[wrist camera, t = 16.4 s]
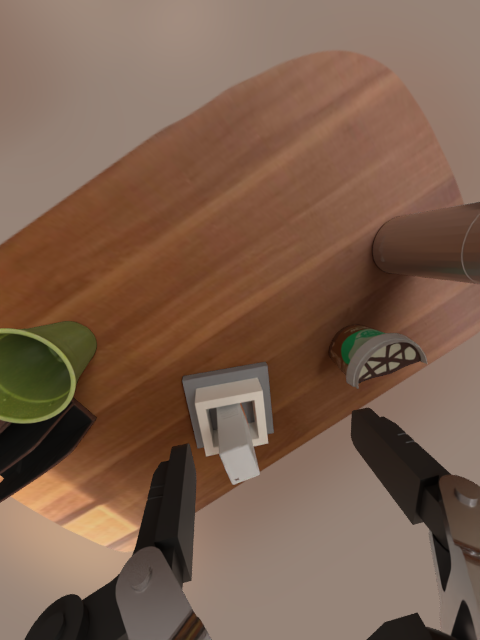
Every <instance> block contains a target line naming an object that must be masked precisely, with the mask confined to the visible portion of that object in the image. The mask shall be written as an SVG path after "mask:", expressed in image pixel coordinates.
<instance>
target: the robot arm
mask: <svg viewBox="0 0 480 640" xmlns="http://www.w3.org/2000/svg"><path fill="white" fill-rule="evenodd" d="M373 257H374V261H375V263H376V265H377V266H378V267H379V268H380V269H381V270H383V271H384V272H387V273H393V274H401V275H409V276H417V277H425V278H433V279H442V280H450V281H458V282H466V283H474V284H480V202H476V203H470V204H465V205H459V206H454V207H448V208H443V209H437V210H432V211H426V212H420V213H415V214H409V215H404V216H398V217H395V218H393V219H391V220H389V221H388V222H386V223H385V224H384V225H383V226H382V227H381V229H380V230H379V231H378V233H377V235H376V237H375V240H374V243H373ZM351 421H352V422H351V438H352V441H353V444H354V446H355V448H356V449H357V451H358V452H359V453H360V455H361V456H362V457H363V459H364V460H365V461H366V463H367V464H368V465H369V467H370V468H371V469H372V471H373V472H374V473H375V475H376V476H377V477H378V479H379V480H380V481H381V483H382V484H383V485H384V487H385V488H386V489H387V491H388V492H389V493H390V495H391V496H392V498H393V499H394V500H395V502H396V503H397V504H398V506H399V507H400V508H401V510H402V511H403V512H404V514H405V515H406V516H407V518H408V519H409V520H410V522H411V523H412V524H413V525H414V524H418V523H421V522H424V523H425V524H426V525H427V527H428V528H429V539H430V544H431V550H432V556H433V562H434V568H435V574H436V580H437V585H438V591H439V599H440V626H441V631H439V630H436V629H433V628H429V627H425V625H424V623H423V622H422V620H421V618H420V616H419V614H418V613H414V614H411V615H408V616H404V617H401V618H398V619H394V620H391V621H387V622H385V623H384V624H383V625H382V626H380V627H379V628H378V629H377V630H376V631H375V632H374V633H373V634H372V635H371V636H370V637H369V638H368V639H367V640H480V486H478V485H477V484H475V483H474V482H472V481H470V480H468V479H466V478H464V477H460V476H457V475H451V474H450V473H449V472H448V471H447V470H446V469H444V467H442V466H441V465H440V464H439V463H438V462H437V461H436V460H435V459H434V458H433V457H431V455H429V454H428V453H427V452H426V451H425V450H424V449H422V447H421V446H419V444H417V443H416V442H414V440H413V439H412V438H411V437H410V436H409V435H407V434H406V433H405V432H404V431H403V430H402V429H401V428H400V427H399V426H398V425H397V424H396V423H394V422H392V421H390V420H388V419H387V418H385V417H379V416H378V415H377V414H376V413H375V412H374V411H373V410H372V409H370V408H364V409H358V410H354V411H352V420H351ZM195 499H196V470H195V465H194V461H193V456H192V452H191V448H190V445H189V443H188V444H183V445H178V446H173V447H172V449H171V454H170V459H169V461H165V462H161V463H160V464H159V466H158V468H157V469H156V471H155V472H154V474H153V478H152V482H151V486H150V490H149V494H148V501H147V502H146V506H145V510H144V515H143V519H142V523H141V527H140V531H139V535H138V539H137V543H136V547H135V550H134V552H133V555H132V557H131V558H130V559H129V560H128V561H127V563H126V564H125V565H124V567H123V569H122V571H121V573H120V574H119V575H118V576H117V577H116V578H114V579H113V580H112V581H111V582H110V583H108V584H106V585H105V586H103V587H102V588H100V589H99V590H97V591H96V592H94V593H92V594H91V595H89V596H88V597H86V598H85V599H83V600H81V598H80V597H79V596H78V595H75V594H70V595H66V596H64V597H61V598H60V599H58V600H56V601H55V602H54V603H52V604H51V605H50V606H49V607H48V608H47V609H46V610H45V611H44V612H43V613H42V614H41V615H40V616H39V618H38V619H37V621H35V623H34V624H33V626H32V627H31V629H30V631H29V632H28V634H27V636H26V638H25V640H212V639H211V637H210V636H209V634H208V632H207V630H206V629H205V627H204V625H203V623H202V622H201V620H200V619H199V618H198V617H197V616H196V614H195V613H194V611H193V609H192V608H191V606H190V604H189V602H188V600H187V598H186V596H185V594H184V593H183V591H182V586H183V583H184V582H188V581H191V577H192V557H193V538H194V519H195Z"/></svg>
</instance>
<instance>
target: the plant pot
mask: <svg viewBox="0 0 480 640" xmlns="http://www.w3.org/2000/svg"><path fill="white" fill-rule="evenodd" d="M96 348H97V343H96V339H95V336H94V335H93V333H92V332H91V331H90V330H89V329H88V328H87V327H85V326H83V325H81V324H79V323H77V322H72V321H64V322H59V323H54V324H49V325H44V326H39V327H34V328H29V329H11V328H2V329H0V420H3V421H7V422H13V423H35V422H40V421H44V420H47V419H49V418H52V417H54V416H56V415H57V414H59V413H60V412H61V411H63V410H64V409H65V408H66V407H67V406H68V404H69V403H70V401H71V400H72V398H73V396H74V393H75V389H76V384H77V381H78V378H79V377H80V375H81V374H82V372H83V371H84V369H85V368H86V366H87V365H88V363H89V362H90V360H91V359H92V357H93V355H94V354H95V351H96Z"/></svg>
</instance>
